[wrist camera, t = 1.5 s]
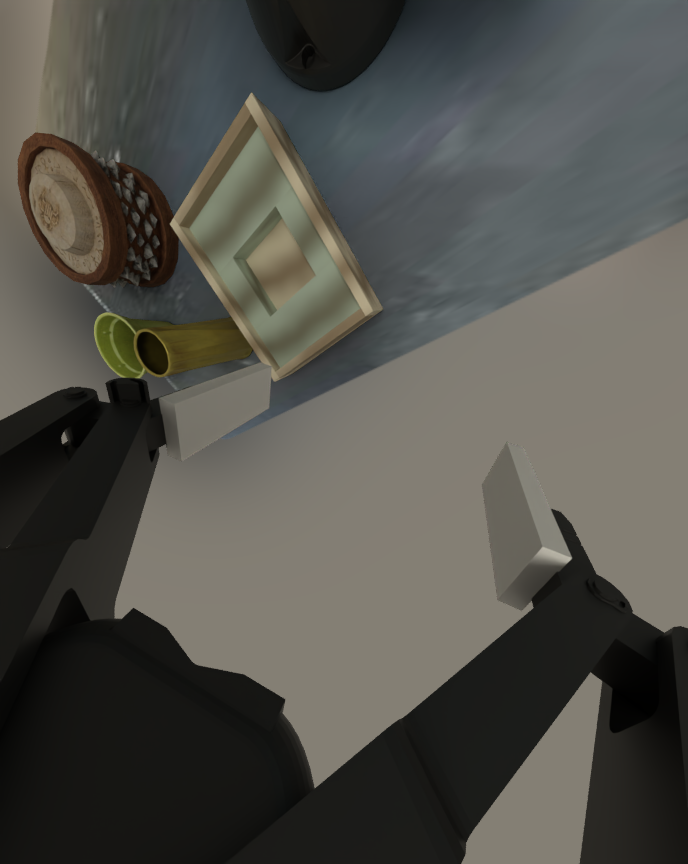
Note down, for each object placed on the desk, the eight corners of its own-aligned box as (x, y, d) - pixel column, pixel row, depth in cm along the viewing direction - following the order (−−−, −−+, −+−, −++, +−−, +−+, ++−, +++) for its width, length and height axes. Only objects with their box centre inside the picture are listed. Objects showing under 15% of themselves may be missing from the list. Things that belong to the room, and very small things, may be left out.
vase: (248, 314, 40) (159, 320, 28) (258, 357, 43) (181, 380, 31) (216, 319, 43) (121, 327, 30) (227, 359, 45) (143, 382, 33)
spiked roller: (115, 214, 29) (80, 312, 37) (197, 234, 38) (155, 309, 46) (6, 76, 27) (-7, 211, 34) (121, 133, 36) (90, 229, 44)
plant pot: (151, 299, 45) (92, 299, 38) (197, 329, 44) (146, 335, 37) (147, 350, 50) (94, 359, 43) (189, 378, 49) (143, 392, 42)
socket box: (201, 232, 38) (169, 223, 33) (280, 121, 30) (251, 92, 25) (292, 373, 42) (274, 381, 38) (383, 309, 34) (373, 310, 30)
